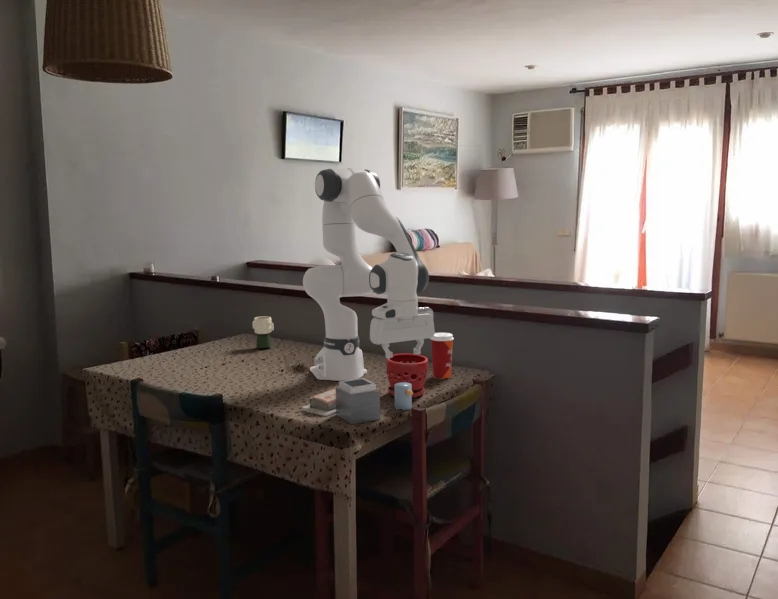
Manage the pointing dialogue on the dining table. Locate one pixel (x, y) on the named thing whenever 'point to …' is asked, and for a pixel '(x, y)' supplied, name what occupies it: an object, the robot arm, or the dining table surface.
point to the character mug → (263, 331)
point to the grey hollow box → (357, 401)
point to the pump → (403, 396)
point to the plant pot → (407, 372)
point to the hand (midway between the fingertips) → (403, 355)
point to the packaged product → (322, 403)
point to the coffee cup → (442, 354)
